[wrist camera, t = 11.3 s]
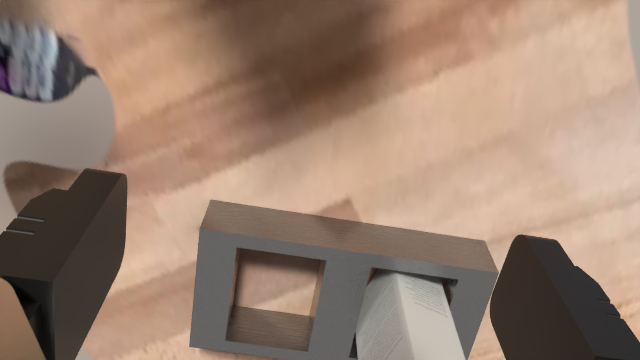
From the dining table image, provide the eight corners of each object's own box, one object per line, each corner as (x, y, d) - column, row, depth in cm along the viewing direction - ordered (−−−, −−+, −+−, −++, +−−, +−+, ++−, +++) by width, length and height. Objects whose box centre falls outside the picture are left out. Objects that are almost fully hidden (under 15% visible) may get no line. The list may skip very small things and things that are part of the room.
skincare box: (400, 325, 46) (422, 457, 36) (352, 305, 46) (359, 433, 35) (441, 268, 44) (478, 390, 33) (391, 246, 43) (412, 364, 33)
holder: (200, 311, 46) (189, 346, 43) (210, 199, 42) (199, 228, 38) (449, 346, 48) (459, 383, 44) (484, 241, 43) (498, 272, 40)
